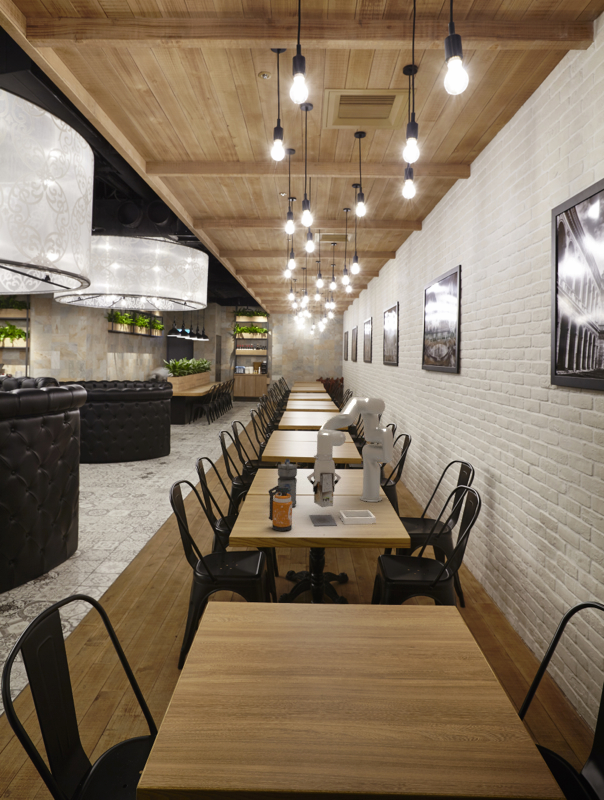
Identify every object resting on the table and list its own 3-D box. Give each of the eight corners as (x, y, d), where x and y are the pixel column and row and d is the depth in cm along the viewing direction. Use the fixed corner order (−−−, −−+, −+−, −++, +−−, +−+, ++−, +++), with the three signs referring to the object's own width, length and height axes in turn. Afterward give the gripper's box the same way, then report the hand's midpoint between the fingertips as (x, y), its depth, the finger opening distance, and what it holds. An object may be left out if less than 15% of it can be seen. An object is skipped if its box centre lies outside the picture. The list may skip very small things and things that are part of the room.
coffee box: (333, 506, 243) (334, 473, 242) (321, 507, 240) (322, 474, 239) (324, 501, 251) (325, 469, 250) (313, 502, 249) (314, 470, 247)
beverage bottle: (295, 501, 278) (296, 457, 276) (296, 509, 265) (297, 462, 263) (277, 501, 278) (278, 456, 276) (277, 508, 264) (277, 461, 262)
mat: (309, 515, 254) (309, 515, 254) (330, 515, 255) (330, 514, 255) (314, 526, 238) (314, 525, 238) (337, 525, 239) (337, 524, 239)
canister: (289, 532, 228) (290, 489, 227) (265, 530, 230) (266, 487, 229) (293, 526, 237) (294, 484, 235) (270, 524, 239) (271, 482, 238)
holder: (338, 516, 254) (339, 510, 254) (368, 515, 256) (368, 510, 256) (344, 524, 242) (344, 518, 241) (375, 523, 244) (375, 517, 243)
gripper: (307, 459, 239) (307, 495, 241) (343, 459, 242) (342, 495, 243) (305, 456, 247) (304, 491, 248) (340, 456, 249) (339, 491, 250)
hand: (323, 493), depth 246 cm, fingers closed on coffee box, 7 cm apart
